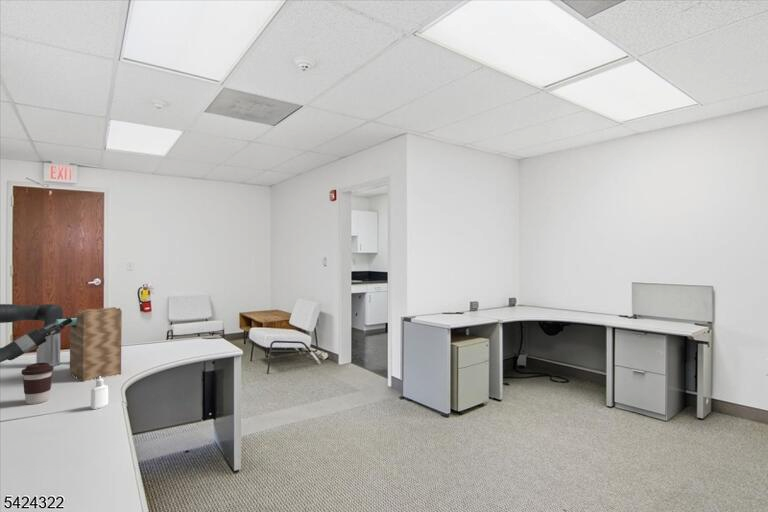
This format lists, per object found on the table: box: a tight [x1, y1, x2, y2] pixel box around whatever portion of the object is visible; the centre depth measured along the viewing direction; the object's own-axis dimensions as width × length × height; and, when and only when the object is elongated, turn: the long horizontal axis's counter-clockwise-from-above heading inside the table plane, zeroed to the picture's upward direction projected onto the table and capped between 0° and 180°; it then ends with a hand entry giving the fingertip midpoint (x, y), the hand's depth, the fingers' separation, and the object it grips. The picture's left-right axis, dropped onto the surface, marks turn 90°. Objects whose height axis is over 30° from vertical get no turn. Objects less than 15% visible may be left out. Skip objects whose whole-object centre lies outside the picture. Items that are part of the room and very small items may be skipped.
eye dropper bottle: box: [90, 376, 109, 410], centre depth 159 cm, size 4×6×12 cm
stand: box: [69, 307, 123, 382], centre depth 205 cm, size 16×20×33 cm
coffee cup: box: [21, 363, 55, 405], centre depth 165 cm, size 10×10×15 cm
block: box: [56, 317, 77, 327], centre depth 207 cm, size 26×4×3 cm, turn 142°
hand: (69, 319), depth 201 cm, fingers closed on block, 3 cm apart
